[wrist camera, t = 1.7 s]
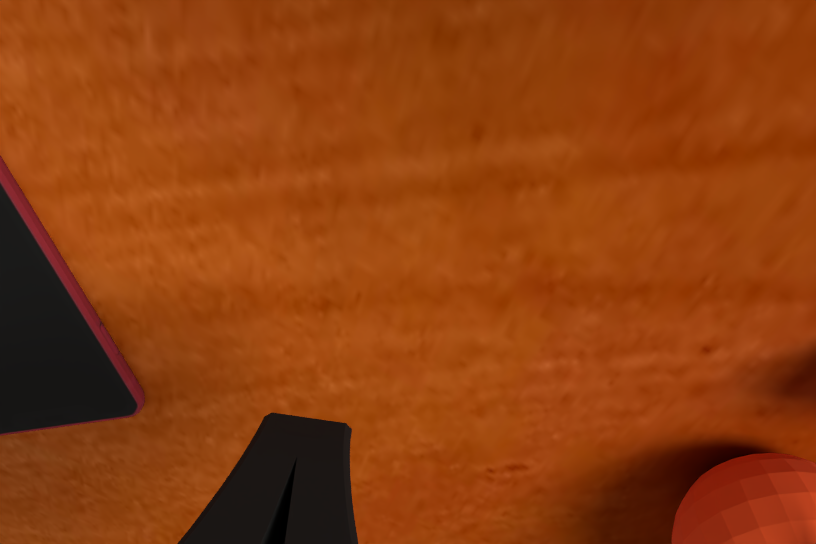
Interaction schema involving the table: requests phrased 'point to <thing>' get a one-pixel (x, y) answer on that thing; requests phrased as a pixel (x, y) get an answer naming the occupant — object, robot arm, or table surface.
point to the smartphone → (51, 333)
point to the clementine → (750, 503)
